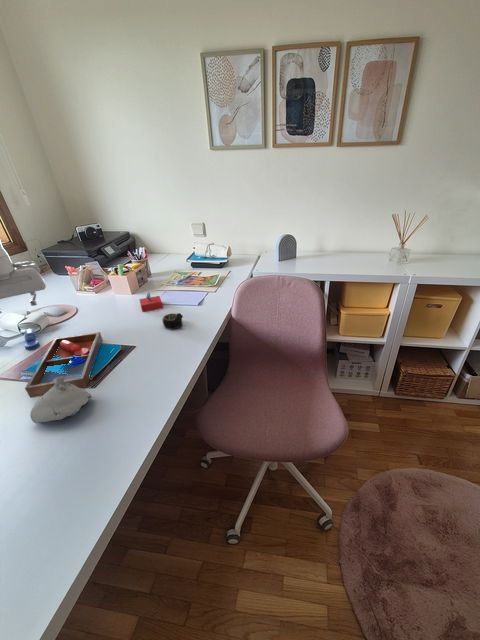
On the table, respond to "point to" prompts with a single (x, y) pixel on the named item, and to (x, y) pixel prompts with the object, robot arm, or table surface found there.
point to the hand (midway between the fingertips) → (17, 309)
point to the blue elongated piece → (30, 340)
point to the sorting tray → (45, 382)
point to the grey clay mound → (59, 402)
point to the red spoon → (73, 348)
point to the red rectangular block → (150, 303)
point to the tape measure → (172, 320)
